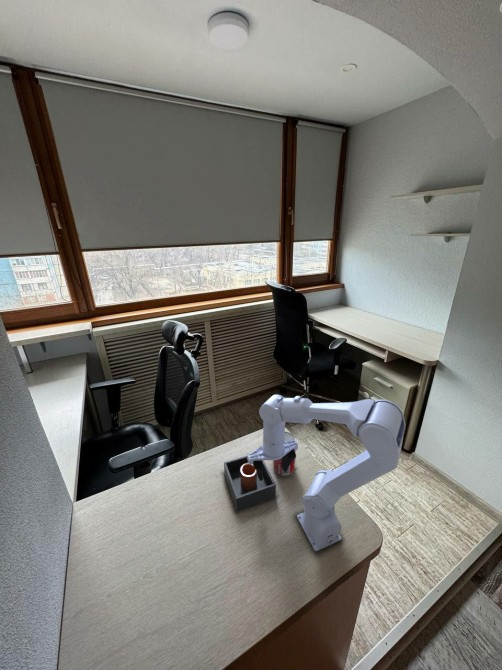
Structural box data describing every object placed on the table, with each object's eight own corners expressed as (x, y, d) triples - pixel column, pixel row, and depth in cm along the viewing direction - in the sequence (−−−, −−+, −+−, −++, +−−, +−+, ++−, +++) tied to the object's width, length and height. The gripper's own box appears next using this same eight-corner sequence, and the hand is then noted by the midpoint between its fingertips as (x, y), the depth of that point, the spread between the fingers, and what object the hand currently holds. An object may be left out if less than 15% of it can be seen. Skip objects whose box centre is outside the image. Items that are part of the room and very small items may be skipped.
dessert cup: (259, 487, 83) (259, 473, 80) (243, 493, 81) (243, 478, 79) (253, 474, 87) (253, 460, 85) (238, 479, 85) (238, 465, 83)
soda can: (297, 474, 88) (300, 444, 83) (277, 479, 86) (278, 448, 81) (289, 457, 94) (291, 428, 89) (269, 462, 92) (270, 432, 87)
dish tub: (275, 496, 80) (276, 484, 79) (236, 510, 76) (236, 498, 75) (258, 462, 92) (259, 451, 90) (224, 473, 88) (223, 462, 86)
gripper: (290, 420, 78) (288, 455, 83) (243, 433, 73) (243, 470, 78) (303, 437, 72) (299, 474, 77) (252, 452, 67) (252, 490, 72)
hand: (272, 473), depth 77 cm, fingers open, 7 cm apart
